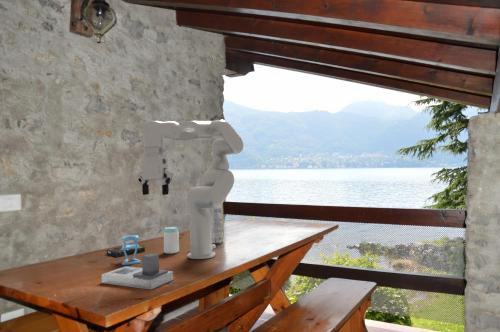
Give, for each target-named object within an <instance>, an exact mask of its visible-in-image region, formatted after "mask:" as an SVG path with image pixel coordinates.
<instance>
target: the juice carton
mask: <svg viewBox="0 0 500 332" xmlns="http://www.w3.org/2000/svg"><path fill="white" fill-rule="evenodd" d="M223 203H224V202H223ZM223 203H222V205H221V206H219V207H218V208H208V209H209V211H210V214H211V236H212V244H221V243H223V241H224V235H225V231H224V230H225V229H224V227H225V226H224V220H225V219H224V204H223Z"/></svg>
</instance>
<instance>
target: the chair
mask: <svg viewBox="0 0 500 332" xmlns="http://www.w3.org/2000/svg"><path fill="white" fill-rule="evenodd" d="M139 239H140V237H139V235H138V234H135V235H134V234H133V235H132V234H130V235H127V236H126V235H123V236H122V237H121V240H122V241H123V244H122V245H121V247H123V251H124V254H125V256H124V257H125V259H124V260H123V261H122V262H121V265H122V266H129V265H135V264H136V265H137V264H142V260H140V259H138V258H136V254H137V253H136V252H137V249H138V248H139V246H140V245H139V244H138V242H139ZM129 241H134V243H133V244H127V242H129ZM132 248H135V252H134V254H132V258H131V260H132V261H129V257H128V255H127V254H126V251H125V249H132Z"/></svg>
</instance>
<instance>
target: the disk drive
mask: <svg viewBox="0 0 500 332" xmlns="http://www.w3.org/2000/svg"><path fill="white" fill-rule="evenodd" d="M138 246H139V248H138V249H137V252H136V254H139V253H144V252H146V247H145V246H142V245H138ZM125 251H126V254H127V256H128V255H129V256H130V255H133V254H134V252H135V248H132V249H125ZM106 255H108V256H112V257H115V258H120V257H121V258H122V257H123V256H124V257H125V254H124V251H123V247H122V246H120V247H116V248H109V249H106Z"/></svg>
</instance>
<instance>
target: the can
mask: <svg viewBox="0 0 500 332" xmlns="http://www.w3.org/2000/svg"><path fill="white" fill-rule="evenodd" d="M162 234H163V253H164V254H166V255H174V253H175V254H178V253H179V252H180V239H179V238H180V237H179V234H180V233H179V229H178V227H177V226H167V227H165V228H164V230H163V233H162Z"/></svg>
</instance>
